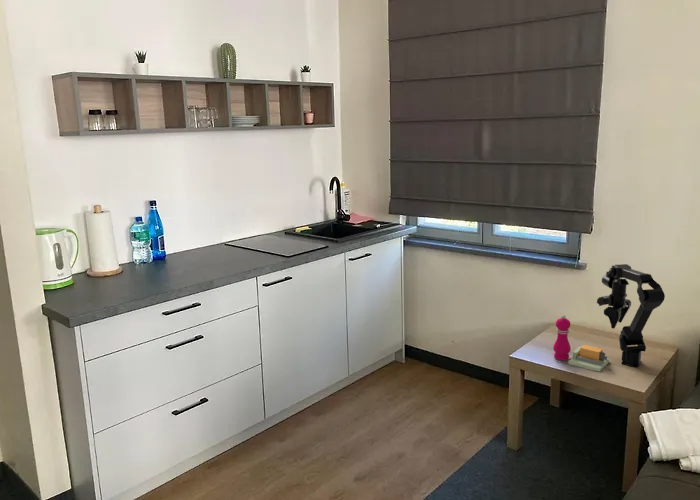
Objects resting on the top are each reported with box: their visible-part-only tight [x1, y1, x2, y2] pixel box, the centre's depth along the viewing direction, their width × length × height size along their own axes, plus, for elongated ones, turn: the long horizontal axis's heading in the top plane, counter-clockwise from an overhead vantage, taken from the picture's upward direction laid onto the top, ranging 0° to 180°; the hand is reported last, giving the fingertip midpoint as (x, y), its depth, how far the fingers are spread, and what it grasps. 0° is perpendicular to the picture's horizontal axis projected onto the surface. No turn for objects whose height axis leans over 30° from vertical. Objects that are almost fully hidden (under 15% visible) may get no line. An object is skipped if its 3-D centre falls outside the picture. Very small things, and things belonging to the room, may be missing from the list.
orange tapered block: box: [580, 344, 606, 361], centre depth 251 cm, size 9×4×5 cm, turn 49°
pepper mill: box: [553, 314, 572, 362], centre depth 256 cm, size 7×7×20 cm
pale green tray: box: [567, 346, 610, 372], centre depth 251 cm, size 13×12×4 cm
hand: (616, 325), depth 261 cm, fingers open, 9 cm apart
